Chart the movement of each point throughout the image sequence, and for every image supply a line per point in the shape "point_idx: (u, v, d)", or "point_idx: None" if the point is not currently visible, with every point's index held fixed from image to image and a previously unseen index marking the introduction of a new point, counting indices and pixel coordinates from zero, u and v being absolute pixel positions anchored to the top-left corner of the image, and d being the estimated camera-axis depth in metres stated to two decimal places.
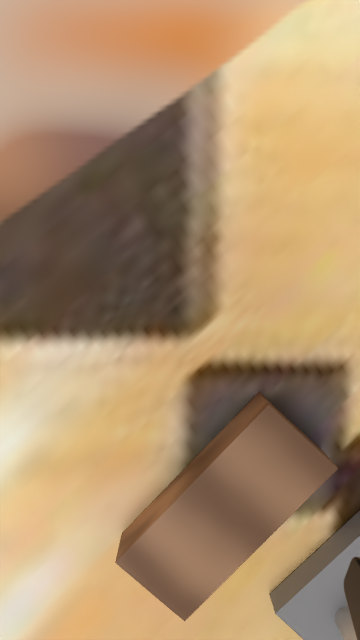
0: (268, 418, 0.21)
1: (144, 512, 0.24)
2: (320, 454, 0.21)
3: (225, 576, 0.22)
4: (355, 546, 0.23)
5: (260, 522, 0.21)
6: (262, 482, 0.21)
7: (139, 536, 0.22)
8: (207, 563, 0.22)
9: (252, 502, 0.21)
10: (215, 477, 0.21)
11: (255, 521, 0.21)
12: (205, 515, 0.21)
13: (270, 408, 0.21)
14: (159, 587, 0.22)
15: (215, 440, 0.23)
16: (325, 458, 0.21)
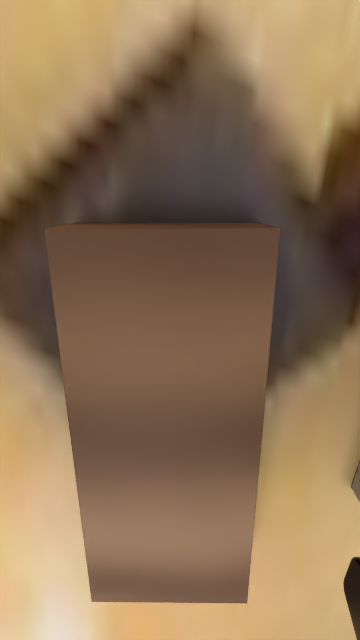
0: (70, 254, 0.09)
1: None
2: (222, 232, 0.09)
3: (249, 524, 0.12)
4: None
5: (227, 423, 0.11)
6: (169, 365, 0.10)
7: None
8: (206, 525, 0.12)
9: (185, 406, 0.10)
10: (93, 416, 0.10)
11: (219, 428, 0.11)
12: (137, 474, 0.11)
13: (52, 233, 0.09)
14: (174, 590, 0.13)
15: None
16: (238, 231, 0.09)
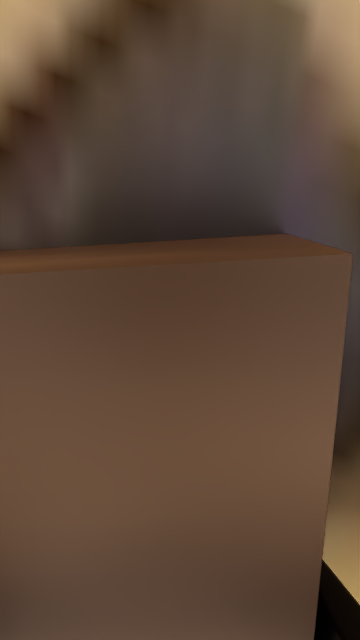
0: None
1: None
2: (232, 269, 0.04)
3: None
4: None
5: (256, 589, 0.06)
6: (146, 507, 0.05)
7: None
8: None
9: (180, 568, 0.06)
10: (24, 587, 0.06)
11: (242, 597, 0.06)
12: None
13: None
14: None
15: None
16: (266, 265, 0.04)
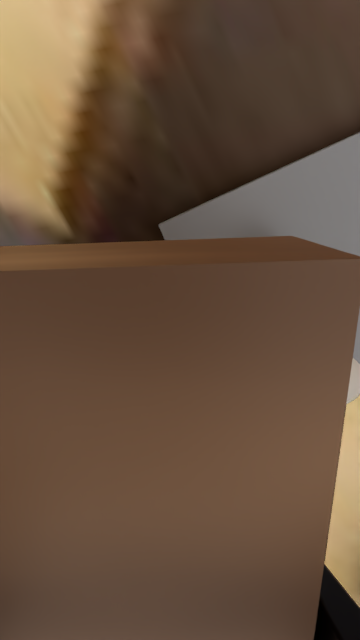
0: None
1: None
2: (244, 271, 0.04)
3: None
4: None
5: (257, 594, 0.06)
6: (148, 509, 0.05)
7: None
8: None
9: (181, 570, 0.06)
10: (22, 587, 0.06)
11: (242, 601, 0.06)
12: None
13: None
14: None
15: None
16: (278, 268, 0.04)
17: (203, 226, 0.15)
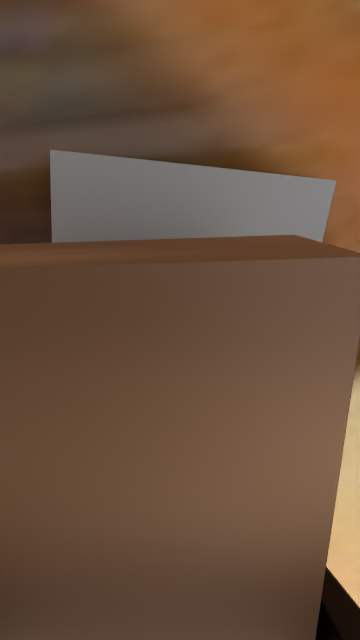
0: None
1: None
2: (248, 269, 0.04)
3: None
4: None
5: (259, 593, 0.06)
6: (151, 507, 0.05)
7: None
8: None
9: (183, 569, 0.06)
10: (24, 585, 0.06)
11: (244, 599, 0.06)
12: None
13: None
14: None
15: None
16: (282, 265, 0.04)
17: None
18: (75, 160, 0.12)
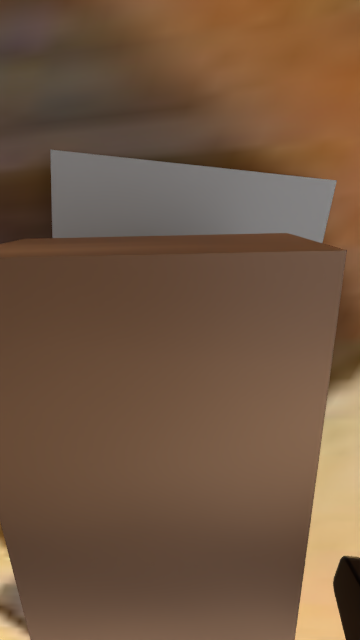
0: None
1: None
2: (244, 260, 0.05)
3: None
4: None
5: (252, 547, 0.07)
6: (158, 469, 0.06)
7: None
8: None
9: (185, 525, 0.07)
10: (44, 539, 0.07)
11: (238, 553, 0.07)
12: (116, 613, 0.07)
13: None
14: None
15: None
16: (273, 257, 0.05)
17: None
18: (76, 160, 0.12)
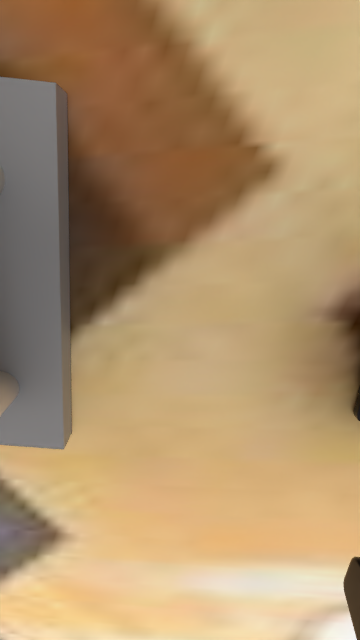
0: None
1: None
2: None
3: None
4: None
5: None
6: None
7: None
8: None
9: None
10: None
11: None
12: None
13: None
14: None
15: None
16: None
17: None
18: None
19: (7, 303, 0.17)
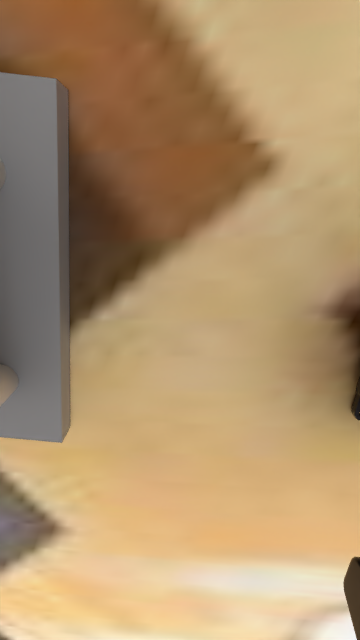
0: None
1: None
2: None
3: None
4: None
5: None
6: None
7: None
8: None
9: None
10: None
11: None
12: None
13: None
14: None
15: None
16: None
17: None
18: None
19: (7, 296, 0.17)
